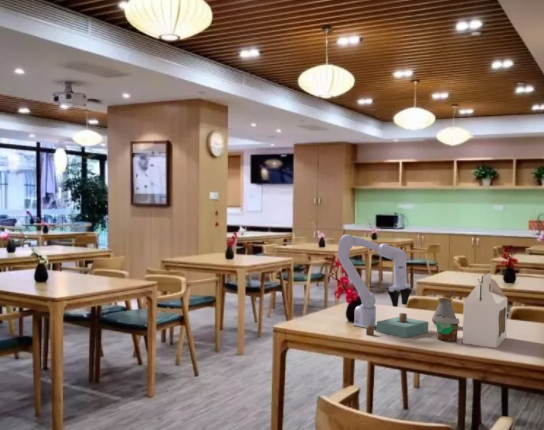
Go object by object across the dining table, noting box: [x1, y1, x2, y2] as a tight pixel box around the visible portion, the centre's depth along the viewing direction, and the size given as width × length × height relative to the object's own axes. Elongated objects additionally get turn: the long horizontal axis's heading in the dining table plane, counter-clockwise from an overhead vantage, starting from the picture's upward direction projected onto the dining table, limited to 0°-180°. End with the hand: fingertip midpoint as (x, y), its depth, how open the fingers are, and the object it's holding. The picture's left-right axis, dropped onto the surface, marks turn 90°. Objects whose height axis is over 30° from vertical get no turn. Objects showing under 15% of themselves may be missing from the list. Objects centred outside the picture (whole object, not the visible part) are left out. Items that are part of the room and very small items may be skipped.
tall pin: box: [398, 312, 408, 323], centre depth 256 cm, size 3×3×8 cm
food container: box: [435, 314, 460, 343], centre depth 241 cm, size 12×6×10 cm, turn 21°
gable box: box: [462, 272, 508, 349], centre depth 242 cm, size 22×13×28 cm, turn 148°
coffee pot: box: [431, 290, 457, 327], centre depth 273 cm, size 21×12×15 cm, turn 149°
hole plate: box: [376, 316, 429, 339], centre depth 256 cm, size 15×18×4 cm
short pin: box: [365, 325, 375, 337], centre depth 249 cm, size 3×3×4 cm
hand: (399, 305), depth 264 cm, fingers open, 7 cm apart
